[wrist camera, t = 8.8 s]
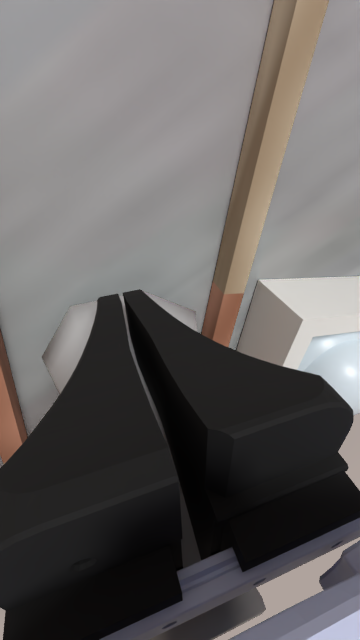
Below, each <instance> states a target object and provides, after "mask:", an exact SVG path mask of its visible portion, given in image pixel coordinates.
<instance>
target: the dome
mask: <svg viewBox="0 0 360 640" xmlns="http://www.w3.org/2000/svg"><path fill="white" fill-rule="evenodd" d="M297 370H300V371H304V372H308V373H312V374H316V375H320V376H321V377H322V378H323V379H324V380H325V381H326V382H327V383H328V384H330V385H331V386H332V387H333V388H334V389H335V391H336V392H337V393H338V394H339V395H340V396H341V397H342V398H343V399H344V400H345V401H346V402H347V403H348V404H349V405H350V407H351V408H352V409H353V415H356V414H359V413H360V331H357V332H349V333H341V334H333V335H324V336H316V337H313V338H312V340H311V342H310V344H309V346H308V349H307V351H306V353H305V355H304V357H303V359H302V361H301V363H300V365H299V367H298V369H297Z"/></svg>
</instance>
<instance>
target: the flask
mask: <svg viewBox="0 0 360 640" xmlns="http://www.w3.org/2000/svg"><path fill="white" fill-rule="evenodd" d="M143 292H144V291H143ZM144 293H146V294H147V295H148V296H149V297H150V298H151V299H152V300H153V301H155V302H156V303H157V304H158V305H159V306H161V307H162V308H163V309H164V310H166V311H167V312H168V313H170V314H171V315H172V316H174V317H175V318H176V319H178V320H179V321H181V322H182V323H184V324H185V325H187V326H188V327H190V328H191V329H193V330H195V331H196V332H197V325H196V313H195V311H193V310H191V309H188V308H185V307H183V306H180V305H178V304H175V303H173V302H170V301H168V300H165V299H162V298H160V297H157V296H155V295H152V294H150V293H147V292H144ZM119 297H120V300H121V302H122V306H123V312H124V318H125V324H126V329H127V335H128V341H129V346H130V350H131V353H132V356H133V359H134V362H135V365H136V368H137V371H138V373H139V376H140V379H141V382H142V384H143V387H144V390H145V392H146V395H147V397H148V400H149V403H150V405H151V408H152V410H153V412H154V415H155V417H156V420H157V422H158V424H159V427H160V429H161V432H162V434H163V436H164V438H165V441H166V443H167V445H168V442H167V438H166V435H165V432H164V428H163V425H162V422H161V419H160V417H159V414H158V411H157V409H156V406H155V404H154V402H153V399H152V397H151V395H150V392H149V390H148V387H147V385H146V383H145V380H144V378H143V375H142V373H141V370H140V368H139V366H138V363H137V360H136V356H135V352H134V348H133V345H132V341H131V337H130V333H129V327H128V321H127V315H126V309H125V303H124V297H123V295H122V296H119ZM96 310H97V301H93V302H88V303H83V304H78V305H73V306H70V307H69V309H68V311H67V313H66V315H65V316H64V318H63V320H62V322H61V324H60V325H59V327H58V329H57V331H56V333H55V334H54V336H53V338H52V340H51V342H50V343H49V345H48V347H47V349H46V351H45V352H44V354H43V356H42V359H43V361H44V363H45V365H46V367H47V369H48V371H49V373H50V375H51V377H52V379H53V381H54V383H55V385H56V387H57V390H58V392H59V394H60V393H61V392H62V390H63V389H64V387H65V385H66V384H67V382H68V380H69V379H70V377H71V375H72V373H73V372H74V370H75V368H76V366H77V364H78V362H79V360H80V358H81V356H82V353H83V351H84V348H85V346H86V343H87V341H88V339H89V336H90V333H91V329H92V326H93V323H94V319H95V315H96ZM168 448H169V445H168ZM169 451H170V448H169ZM170 454H171V452H170ZM171 457H172V455H171ZM172 460H173V458H172ZM173 463H174V462H173ZM174 466H175V465H174ZM179 489H180V506H181V522H182V538H183V539H181V547H182V561H183V568H185V567H188V566H190V565H192V564H194V563H197V562H199V561H201V557H200V554H199V550H198V546H197V543H196V539H195V535H194V532H193V528H192V525H191V521H190V517H189V514H188V510H187V507H186V503H185V500H184V496H183V493H182V489H181V486H180V482H179ZM265 610H266V608H265V605H264V602H263V599H262V597H261V595H260V593H259V592H258V590H257V589H256V588H254V589H252V590H250V591H248V592H246V593H244V594H242V595H239V596H237V597H235V598H233V599H231V600H229V601H227V602H225V603H223V604H221V605H219V606H217V607H215V608H213V609H211V610H209V611H207V612H205V613H203V614H200V615H198V616H196V617H194V618H192V619H190V620H188V621H186V622H184V623H182V624H180V625H178V626H176V627H174V628H172V629H170V630H168V631H166V632H163V633H161V634H159V635H157V636H155V637H153V638H151V639H149V640H213V639H215V638H217V637H218V636H221V635H223V634H225V633H226V632H228V631H230V630H232V629H234V628H236V627H238V626H240V625H242V624H244V623H245V622H247V621H249V620H251V619H253V618H255V617H257V616H259V615H261V614H262V613H263V612H264V611H265Z"/></svg>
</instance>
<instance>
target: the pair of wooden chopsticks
mask: <svg viewBox="0 0 360 640" xmlns="http://www.w3.org/2000/svg"><path fill="white" fill-rule="evenodd" d="M328 2H329V0H274V4H273V9H272V14H271V18H270V23H269V27H268V32H267V36H266V41H265V46H264V50H263V55H262V59H261V64H260V68H259V73H258V78H257V82H256V87H255V91H254V96H253V100H252V105H251V110H250V114H249V119H248V123H247V128H246V132H245V137H244V141H243V146H242V151H241V155H240V160H239V164H238V169H237V173H236V178H235V183H234V187H233V192H232V196H231V201H230V205H229V210H228V215H227V219H226V224H225V228H224V233H223V237H222V242H221V247H220V251H219V256H218V260H217V265H216V269H215V274H214V279H213V283H212V288H211V292H210V297H209V301H208V306H207V311H206V315H205V320H204V324H203V329H202V333H201V334H202V335H204V336H206V337H207V338H209V339H211V340H213V341H215V342H217V343H219V344H222V345H224V346H226V347H228V346H229V343H230V339H231V336H232V332H233V329H234V325H235V322H236V318H237V315H238V312H239V308H240V305H241V301H242V298H243V294H244V291H245V288H246V284H247V281H248V277H249V274H250V270H251V267H252V263H253V260H254V257H255V253H256V250H257V246H258V243H259V239H260V236H261V233H262V229H263V226H264V222H265V219H266V215H267V212H268V208H269V205H270V202H271V198H272V195H273V191H274V188H275V184H276V181H277V178H278V174H279V171H280V167H281V164H282V160H283V157H284V153H285V150H286V147H287V143H288V140H289V136H290V133H291V129H292V126H293V123H294V119H295V116H296V112H297V109H298V105H299V102H300V98H301V95H302V92H303V88H304V85H305V81H306V78H307V74H308V71H309V68H310V64H311V61H312V57H313V54H314V50H315V47H316V44H317V40H318V37H319V33H320V30H321V26H322V23H323V19H324V16H325V13H326V9H327V6H328ZM27 438H28V437H27V433H26V429H25V425H24V421H23V417H22V413H21V409H20V405H19V401H18V397H17V393H16V389H15V385H14V381H13V377H12V373H11V369H10V365H9V361H8V358H7V354H6V350H5V346H4V342H3V338H2V334H1V330H0V455H1V458H2V461H3V464H5V463H6V462H7V461H8V459H9V458H10V457H11V456H12V455H13V454H14V453H15V452H16V451H17V449H18V448H19V447H20V446H21V445H22V444H23V443H24V442H25V440H26V439H27Z"/></svg>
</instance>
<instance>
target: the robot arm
mask: <svg viewBox="0 0 360 640" xmlns="http://www.w3.org/2000/svg"><path fill="white" fill-rule="evenodd" d="M123 297H124V303H125V309H126V315H127V321H128V327H129V333H130V337H131V341H132V345H133V348H134V352H135V356H136V360H137V363H138V366H139V368H140V370H141V373H142V375H143V378H144V380H145V383H146V385H147V387H148V390H149V392H150V395H151V397H152V399H153V402H154V404H155V406H156V409H157V411H158V414H159V417H160V419H161V422H162V425H163V428H164V432H165V435H166V438H167V442H168V445H169V448H170V451H169V448H168V445H167V443H166V441H165V438H164V436H163V434H162V432H161V429H160V427H159V424H158V422H157V420H156V417H155V415H154V412H153V410H152V408H151V405H150V403H149V400H148V397H147V395H146V392H145V390H144V387H143V384H142V382H141V379H140V376H139V373H138V371H137V368H136V365H135V362H134V359H133V356H132V353H131V350H130V346H129V341H128V335H127V329H126V324H125V318H124V312H123V306H122V302H121V300H120V297H119V295H118V294H114V295H109V296H104V297H100V298H99V299H98V300H97V310H96V315H95V319H94V323H93V326H92V329H91V333H90V336H89V339H88V341H87V343H86V346H85V348H84V351H83V353H82V356H81V358H80V360H79V362H78V364H77V366H76V368H75V370H74V372H73V373H72V375H71V377H70V379H69V380H68V382H67V384H66V385H65V387H64V389H63V390H62V392H61V393H60V395H59V397H58V398H57V400H56V401H55V403H54V404H53V405H52V407H51V408H50V410H49V411H48V412H47V413H46V415H45V416H44V417H43V419H42V420H41V421H40V423H39V424H38V425H37V427H36V428H35V429H34V431H33V432H32V433H31V434H30V436H29V437H28V438H27V439H26V440H25V442H24V443H23V444H22V445H21V446H20V447H19V448H18V449H17V451H16V452H15V453H14V454H13V455H12V456H11V457H10V458H9V459H8V461H7V462H6V463H5V464H4V465H3V466H2V467H1V468H0V608H2V609H4V610H6V613H5V623H4V634H3V640H149V639H151V638H153V637H155V636H157V635H159V634H161V633H163V632H166V631H168V630H170V629H172V628H174V627H176V626H178V625H180V624H182V623H184V622H186V621H188V620H190V619H192V618H194V617H196V616H198V615H200V614H203V613H205V612H207V611H209V610H211V609H213V608H215V607H217V606H219V605H221V604H223V603H225V602H227V601H229V600H231V599H233V598H235V597H237V596H239V595H242V594H244V593H246V592H248V591H250V590H252V589H254V588H256V587H258V586H260V585H262V584H264V583H266V582H268V581H270V580H272V579H274V578H276V577H278V576H281V575H282V574H284V573H287V572H289V571H291V570H293V569H295V568H297V567H299V566H301V565H303V564H305V563H307V562H309V561H311V560H313V559H315V558H317V557H319V556H321V555H324V554H326V553H328V552H330V551H332V550H334V549H336V548H338V547H340V546H342V545H344V544H346V543H348V542H350V541H352V540H354V539H356V538H358V537H360V491H359V490H358V488H357V487H356V486H355V484H354V483H353V482H352V480H351V479H350V478H349V477H348V475H347V474H346V473H345V471H347V469H348V465H347V463H346V462H345V461H344V459H343V458H342V457H341V455H340V454H339V453H338V450H339V449H340V447H341V445H342V443H343V442H344V440H345V438H346V436H347V434H348V433H349V431H350V428H351V426H352V423H353V409H352V408H351V407H350V405H349V404H348V403H347V402H346V401H345V400H344V399H343V398H342V397H341V396H340V395H339V394H338V393H337V392H336V391H335V389H334V388H333V387H332V386H331V385H330V384H328V383H327V382H326V381H325V380H324V379H323V378H322V377H321V376H320V375H316V374H312V373H308V372H304V371H300V370H295V369H291V368H287V367H283V366H279V365H276V364H273V363H270V362H266V361H263V360H260V359H257V358H254V357H251V356H249V355H246V354H243V353H241V352H238V351H236V350H233V349H231V348H228V347H226V346H224V345H222V344H219V343H217V342H215V341H213V340H211V339H209V338H207V337H206V336H204V335H202V334H200V333H198V332H196V331H195V330H193V329H191V328H190V327H188V326H187V325H185V324H184V323H182V322H181V321H179V320H178V319H176V318H175V317H174V316H172V315H171V314H170V313H168V312H167V311H166V310H164V309H163V308H162V307H161V306H159V305H158V304H157V303H156V302H155V301H153V300H152V299H151V298H150V297H149V296H148V295H147V294H146V293H144V292H143V291H142V290H135V291H130V292H124V293H123ZM170 452H171V454H170ZM171 455H172V457H171ZM172 458H173V460H172ZM173 462H174V463H173ZM174 465H175V466H174ZM179 482H180V486H181V489H182V493H183V496H184V500H185V503H186V507H187V510H188V514H189V517H190V521H191V525H192V528H193V532H194V535H195V539H196V543H197V546H198V550H199V554H200V557H201V561H199V562H197V563H194V564H192V565H190V566H188V567H185V568H183V561H182V547H181V539H183V538H182V522H181V506H180V489H179ZM319 582H320V584H321V586H322V587H323V590H324V591H322V592H320V593H318V594H316V595H314V596H312V597H310V598H308V599H306V600H304V601H302V602H300V603H298V604H296V605H294V606H292V607H290V608H288V609H286V610H284V611H282V612H280V613H278V614H276V615H274V616H272V617H271V618H269V619H267V620H265V621H263V622H261V623H259V624H257V625H255V626H253V627H251V628H249V629H248V630H246V631H244V632H242V633H240V634H238V635H236V636H234V637H232V638H231V639H229V640H360V541H358V542H357V543H355V544H353V545H352V546H350V547H349V548H347V549H345V550H344V551H343V553H342V555H341V558H340V559H339V560H338V561H337V562H336V563H335V564H334V565H333V566H332V567H331V568H330V569H329V570H328V571H326V572H325V573H324V574H323V575H322V576H320V580H319Z"/></svg>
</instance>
